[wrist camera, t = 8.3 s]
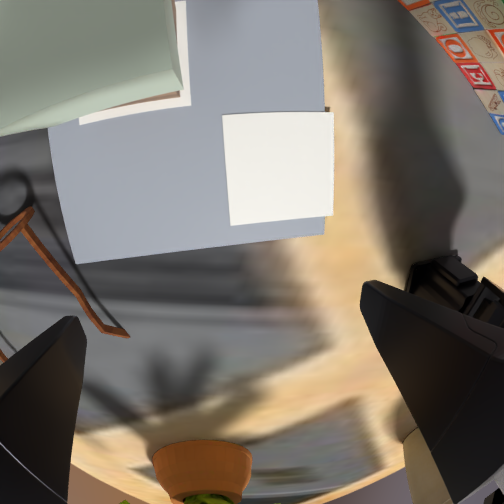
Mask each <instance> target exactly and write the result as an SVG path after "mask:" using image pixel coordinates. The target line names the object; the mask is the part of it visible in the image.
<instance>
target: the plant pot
mask: <svg viewBox="0 0 504 504" xmlns="http://www.w3.org/2000/svg"><path fill="white" fill-rule="evenodd" d="M403 450H404V459H405V467H406V473H407V479H408V484H409V489H410V493H411V498H412V501H413V504H453V502H452V500H451V497H450V495H449V493H448V490H447V488H446V486H445V484H444V481H443V479H442V477H441V475H440V472H439V470H438V468H437V466H436V464H435V462H434V459H433V457H432V455H431V452H430V450H429V448H428V446H427V444H426V442H425V440H424V438H423V436H422V434H421V432H420V430H419V428H417V429H415V430H414V431H413V432H412V433H411V434H409V435H408V436H407V438H406V439H405V440H404V442H403Z"/></svg>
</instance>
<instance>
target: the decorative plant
mask: <svg viewBox="0 0 504 504" xmlns="http://www.w3.org/2000/svg"><path fill="white" fill-rule="evenodd" d="M152 462H153V466H154V468H155V473H156V477H157V480H158V481H159V483H160V485H161V486H162V488H163V489H164V490H165V491H166V492H167V493H168V494H169V496H170V499H171V502H172V503H173V504H237V503H239V502H240V501H241V499H242V491H243V490H244V489H245V487H246V486H247V484H248V482H249V480H250V477H251V465H252V455H251V453H250V452H249V451H248V450H247V449H246V448H244V447H243V446H240V445H237V444H235V443H230V442H226V441H218V440H192V441H183V442H179V443H174V444H171V445H168V446H165V447H163V448H161V449H159V450H158V451H157V452H156V453H155V454H154V456H153V457H152ZM120 504H130V503H128V502H127V501H126V500H124V501H123V502H121V503H120ZM279 504H280V503H279Z"/></svg>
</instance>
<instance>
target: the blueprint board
mask: <svg viewBox="0 0 504 504" xmlns="http://www.w3.org/2000/svg"><path fill="white" fill-rule="evenodd" d="M174 1H175V6H176V22H177V47H178V54H179V61H180V68H181V75H182V81H183V88H184V90H180V97H178V98H170V99H163V100H157V101H150V102H144V103H138V104H132V105H127V106H122V107H117V108H112V109H107V110H103V111H98V112H94V113H91V114H88V115H85V116H82V117H79V118H76V119H73V120H71V121H68V122H65V123H62V124H60V125H57V126H54V127H48V134H49V142H50V149H51V156H52V162H53V168H54V174H55V180H56V185H57V190H58V195H59V200H60V205H61V209H62V214H63V218H64V222H65V226H66V230H67V234H68V238H69V242H70V245H71V249H72V252H73V256H74V259H75V263H76V264H81V263H89V262H97V261H104V260H112V259H120V258H128V257H136V256H144V255H152V254H160V253H169V252H177V251H185V250H193V249H202V248H210V247H218V246H227V245H235V244H244V243H252V242H261V241H270V240H278V239H287V238H296V237H305V236H314V235H323V234H324V224H325V216H332V215H333V198H334V112H325V103H324V79H323V61H322V46H321V33H320V21H319V10H318V1H317V0H174Z"/></svg>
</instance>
